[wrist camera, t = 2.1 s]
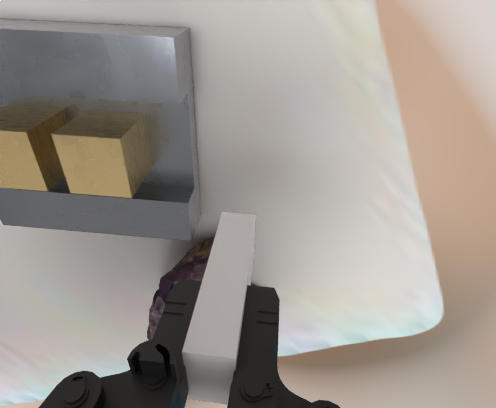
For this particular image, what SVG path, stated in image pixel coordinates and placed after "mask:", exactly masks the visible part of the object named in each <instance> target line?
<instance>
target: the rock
mask: <svg viewBox="0 0 496 408" xmlns="http://www.w3.org/2000/svg"><path fill="white" fill-rule="evenodd" d="M213 242H214V238H212V239H208V240H205V241H203V242H200V243H198V244H197V245H196V246H195V247H194V248H193V249H192V250H191V251H190V252H188V253H187V254H186V255H185V257H184V258H183V259H182V260H181V261H180V262H179V263H178V264H177V265H176V266H175V267H174V268H173V270H171V271H170V272H168V273H167V274H166V275H164V276H163V277H162V278H161V280H160V284H159V289H158V290H157V291H156V293H155V295H154V298H153V304H152V306H151V308H150V313H149V327H148V331H147V338H148V339H149V340H152V339H153V336H154V333H155V331H156V328H157V325H158V323H159V320H160V317H161V315H162V314H163V310H164V307H165V304H166V303H167V299H168V296H169V294H170V291H171V289H172V288H173V287H174V286H175V284H176V283H177V282H178V281H179V280H180V279H186V280H195V281H202V280H203V277H204V273H205V270H206V266H207V263H208V259H209V256H210V252H211V249H212V245H213Z"/></svg>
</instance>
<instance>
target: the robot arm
mask: <svg viewBox="0 0 496 408" xmlns="http://www.w3.org/2000/svg"><path fill="white" fill-rule="evenodd" d="M255 230H256V215H255V214H243V213H232V212H222V214H221V217H220V221H219V224H218V228H217V231H216V235H215V238H214V242H213V245H212V249H211V252H210V256H209V259H208V263H207V266H206V270H205V273H204V277H203V280H202V281H195V280H186V279H180V280H179V281H178V282H177V283H176V284H175V286H174V287H173V288H172V289H171V291H170V294H169V296H168V299H167V303H166V304H165V307H164V310H163V314H162V315H161V317H160V320H159V323H158V325H157V328H156V331H155V333H154V336H153V339H152V340H148V341H146V342H143V343H141V344H139V345H138V346H137V347H136V348H134V349H133V350H132V352H131V353H130V355H129V356H128V358H127V360H128V363H129V366H130V370H129V371H126V372H123V373H120V374H115V375H111V376H106V377H101V378H99V377H98V376H97V375H95V374H94V373H93V372H88V371H81V372H76V373H73V374H71V375H69V376H68V377H66V378H64V379H63V380H62V381H61V382H60V383H59V384H58V385H57V386H56V387H55V388H54V390H53V391H52V392H51V393H50V394H49V396H48V397H47V398H46V399H45V401H44V402H43V403H42V405H41V406H40V407H39V408H184V407H185V403H186V399H187V395H188V397H189V399H190V400H198V401H205V402H214V403H221V404H228V406H227V408H340V407H339V406H338V405H336V404H334V403H332V402H330V401H324V400H318V401H315V402H313V403H311V402H309V401H307V400H305V399H303V398H301V397H299V396H297V395H295V394H294V393H292V392H290V391H289V390H288V389H287V388H286V387H285V386H284V384H283V383H282V381H281V380H280V378H279V375H278V371H277V354H278V325H279V298H278V295H277V293H276V291H275V289H274V288H270V287H260V286H250V285H251V278H252V270H253V262H254V248H255Z"/></svg>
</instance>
